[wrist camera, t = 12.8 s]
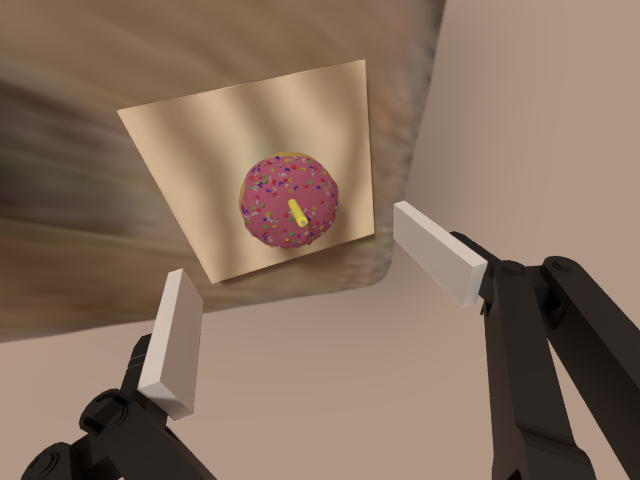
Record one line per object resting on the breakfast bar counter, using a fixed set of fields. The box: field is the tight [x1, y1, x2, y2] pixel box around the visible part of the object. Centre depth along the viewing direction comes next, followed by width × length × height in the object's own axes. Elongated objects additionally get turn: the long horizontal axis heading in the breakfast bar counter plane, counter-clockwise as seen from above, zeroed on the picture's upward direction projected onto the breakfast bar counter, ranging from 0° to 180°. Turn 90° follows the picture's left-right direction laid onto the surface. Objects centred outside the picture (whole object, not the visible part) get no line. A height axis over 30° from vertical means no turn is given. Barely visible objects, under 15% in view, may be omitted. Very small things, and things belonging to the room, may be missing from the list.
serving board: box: [117, 60, 374, 284], centre depth 27 cm, size 20×18×2 cm
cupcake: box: [239, 151, 339, 249], centre depth 21 cm, size 9×8×12 cm
